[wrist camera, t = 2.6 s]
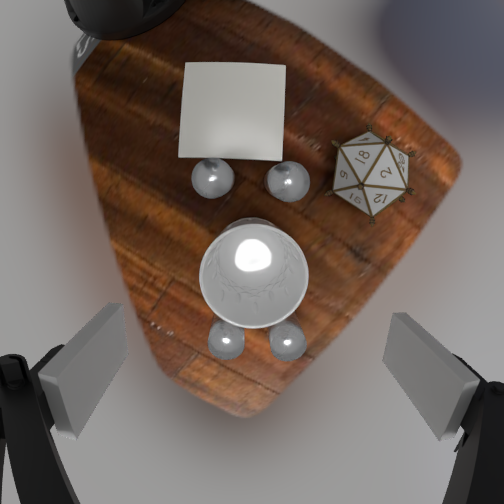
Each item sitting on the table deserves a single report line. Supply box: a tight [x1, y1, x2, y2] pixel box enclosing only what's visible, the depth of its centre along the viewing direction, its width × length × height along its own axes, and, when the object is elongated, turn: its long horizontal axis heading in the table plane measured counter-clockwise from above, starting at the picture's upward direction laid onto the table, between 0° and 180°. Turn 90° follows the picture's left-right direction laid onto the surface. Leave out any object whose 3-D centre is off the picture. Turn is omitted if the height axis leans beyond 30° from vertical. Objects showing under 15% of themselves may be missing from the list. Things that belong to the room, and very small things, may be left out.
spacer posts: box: [192, 157, 310, 361], centre depth 30 cm, size 17×10×7 cm, turn 177°
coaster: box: [178, 62, 286, 161], centre depth 30 cm, size 10×10×1 cm
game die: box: [324, 123, 416, 227], centre depth 28 cm, size 9×8×10 cm
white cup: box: [199, 217, 308, 328], centre depth 28 cm, size 8×8×10 cm
